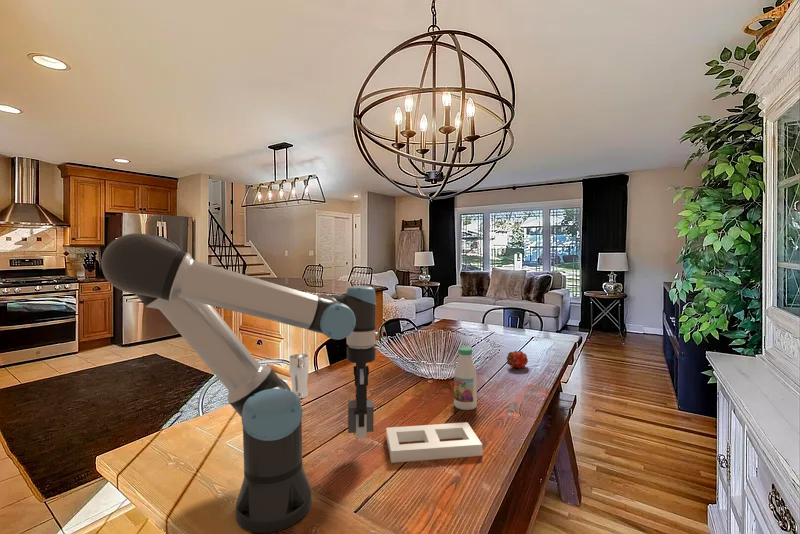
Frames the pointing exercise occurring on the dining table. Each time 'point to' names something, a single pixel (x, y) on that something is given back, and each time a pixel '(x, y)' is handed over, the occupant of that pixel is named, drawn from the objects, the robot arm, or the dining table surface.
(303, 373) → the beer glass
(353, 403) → the plug
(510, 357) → the dragon fruit
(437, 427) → the socket plate
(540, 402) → the dining table surface
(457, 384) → the milk bottle
